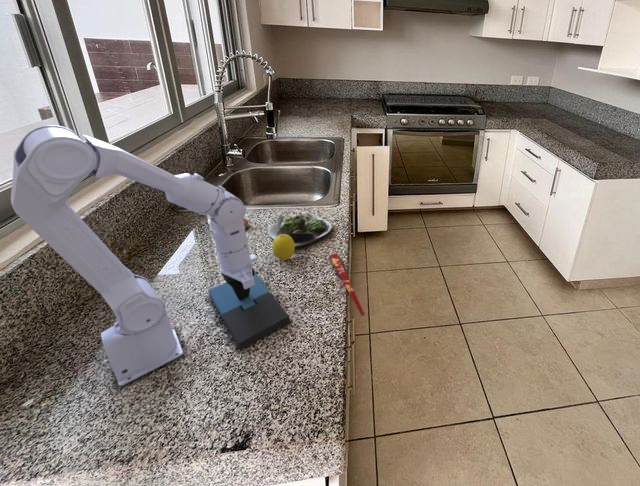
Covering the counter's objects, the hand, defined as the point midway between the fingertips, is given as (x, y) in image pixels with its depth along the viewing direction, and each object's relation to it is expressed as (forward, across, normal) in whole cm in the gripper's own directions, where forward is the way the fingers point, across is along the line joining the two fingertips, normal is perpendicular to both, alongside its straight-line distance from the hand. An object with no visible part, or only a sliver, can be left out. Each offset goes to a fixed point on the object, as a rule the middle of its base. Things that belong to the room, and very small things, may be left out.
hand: (243, 296), depth 77 cm
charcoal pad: (+2, -7, 0) cm, 7 cm away
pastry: (+2, +36, -8) cm, 37 cm away
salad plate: (+2, +18, -22) cm, 29 cm away
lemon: (+2, +9, -14) cm, 17 cm away
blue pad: (+2, +3, 0) cm, 4 cm away
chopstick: (+2, -10, -21) cm, 23 cm away
